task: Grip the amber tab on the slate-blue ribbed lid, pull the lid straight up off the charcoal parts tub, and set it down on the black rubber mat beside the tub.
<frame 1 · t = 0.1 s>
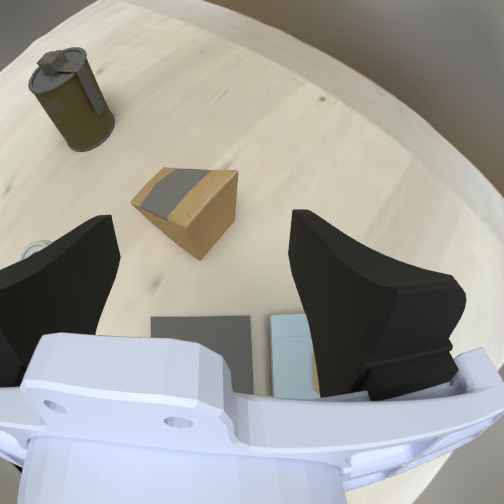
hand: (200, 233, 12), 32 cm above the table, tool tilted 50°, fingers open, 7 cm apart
sandwich container: (180, 211, 46), on the table
mat: (201, 373, 40), on the table
canister: (91, 130, 49), on the table
lid: (313, 370, 38), point 3 cm above the table, touching parts tub
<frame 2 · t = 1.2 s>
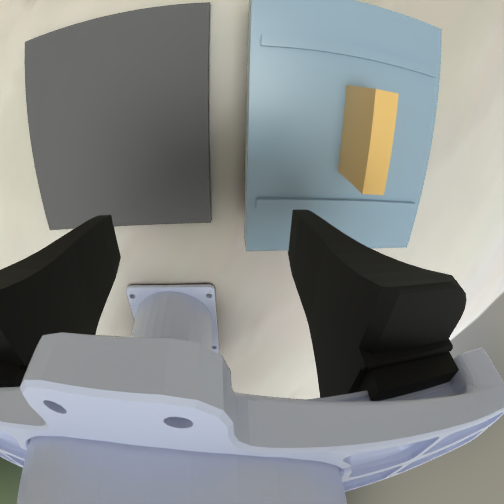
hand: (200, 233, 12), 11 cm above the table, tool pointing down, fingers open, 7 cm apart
mat: (110, 122, 18), on the table
lid: (341, 124, 17), point 3 cm above the table, touching parts tub
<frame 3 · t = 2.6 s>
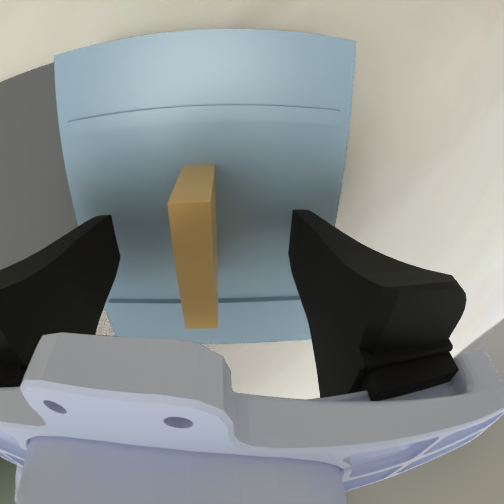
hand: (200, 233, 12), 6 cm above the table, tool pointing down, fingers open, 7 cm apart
mat: (3, 199, 16), on the table
lid: (204, 204, 14), point 3 cm above the table, touching parts tub
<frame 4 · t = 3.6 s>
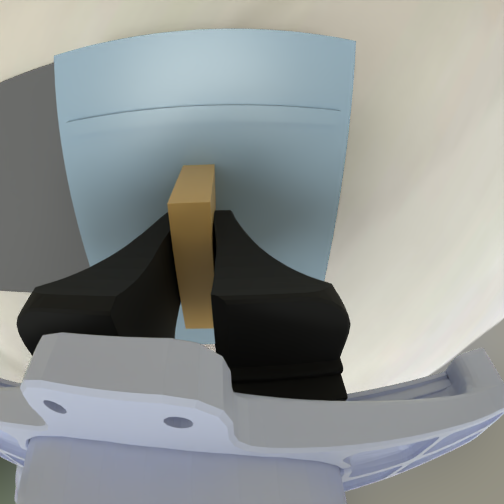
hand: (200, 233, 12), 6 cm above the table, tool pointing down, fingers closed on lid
mat: (3, 199, 16), on the table
lid: (204, 204, 14), point 3 cm above the table, touching gripper, parts tub
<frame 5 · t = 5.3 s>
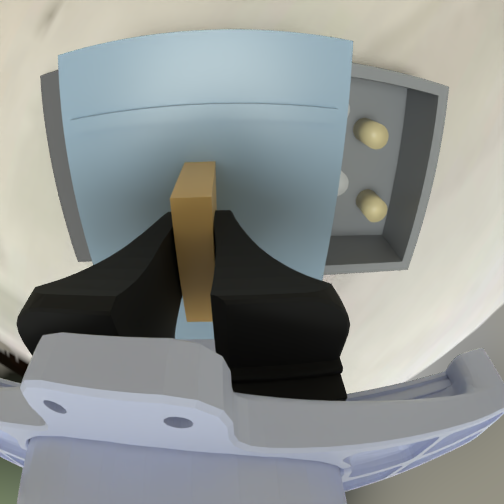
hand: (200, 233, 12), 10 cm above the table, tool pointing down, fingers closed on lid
mat: (137, 162, 20), on the table
parts tub: (345, 159, 21), on the table
lid: (205, 201, 14), point 7 cm above the table, touching gripper
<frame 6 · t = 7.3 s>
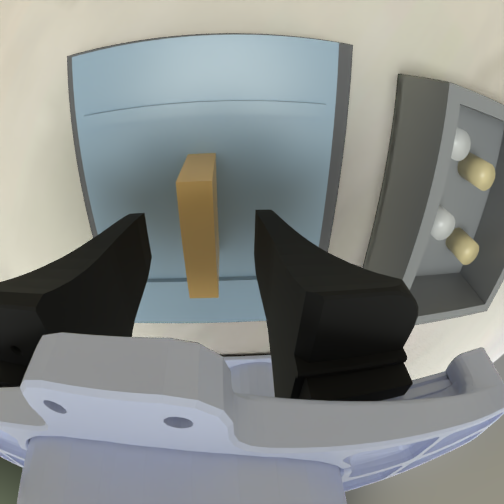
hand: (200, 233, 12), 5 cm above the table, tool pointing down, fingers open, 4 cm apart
mat: (207, 187, 16), on the table
parts tub: (442, 195, 17), on the table
lid: (206, 190, 15), resting on mat
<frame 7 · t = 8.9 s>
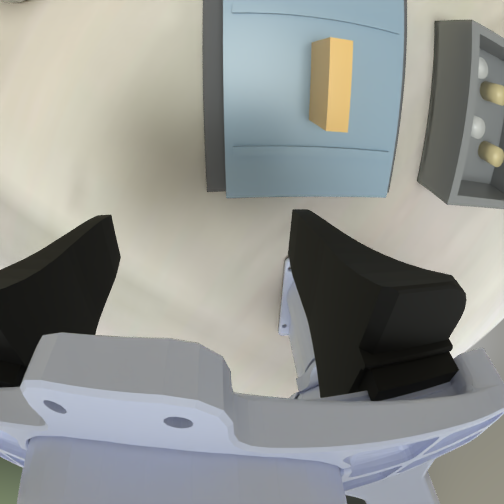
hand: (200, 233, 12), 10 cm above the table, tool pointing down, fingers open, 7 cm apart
mat: (310, 80, 18), on the table
parts tub: (471, 113, 19), on the table
lid: (312, 80, 17), resting on mat
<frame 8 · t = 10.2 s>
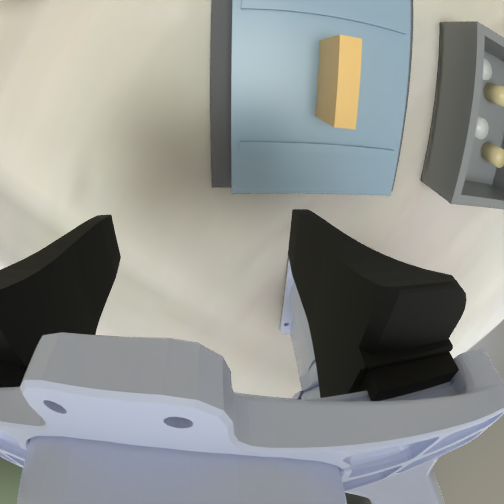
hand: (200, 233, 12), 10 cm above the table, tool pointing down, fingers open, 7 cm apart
mat: (317, 77, 18), on the table
parts tub: (474, 114, 19), on the table
lid: (319, 78, 17), resting on mat
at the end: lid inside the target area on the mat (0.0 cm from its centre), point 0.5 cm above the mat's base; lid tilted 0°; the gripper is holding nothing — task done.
